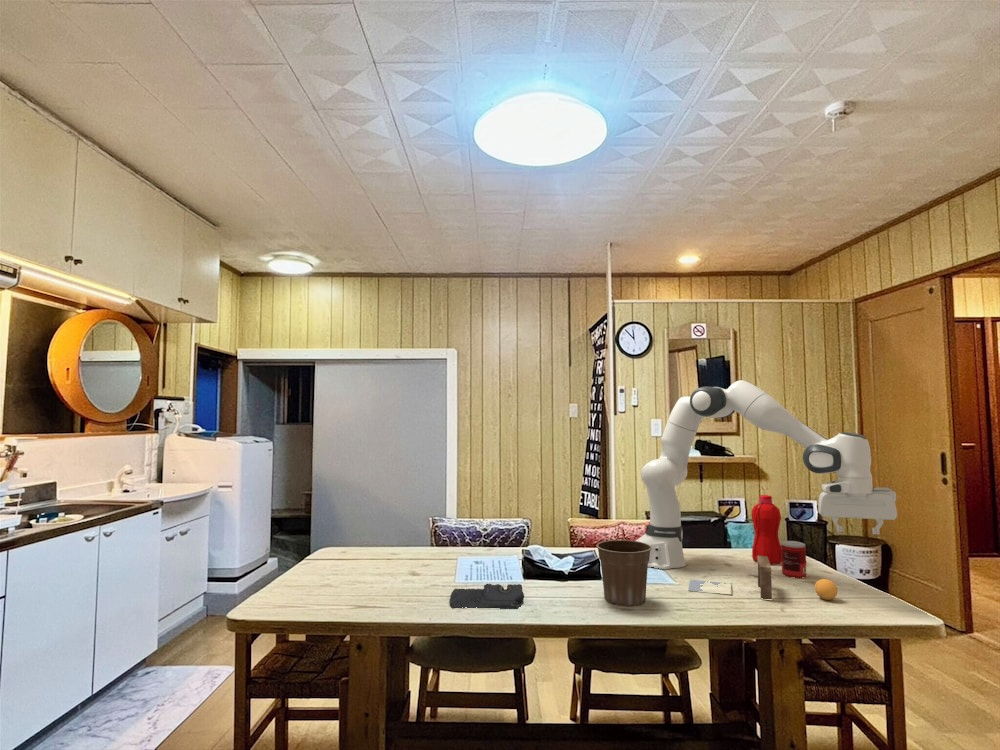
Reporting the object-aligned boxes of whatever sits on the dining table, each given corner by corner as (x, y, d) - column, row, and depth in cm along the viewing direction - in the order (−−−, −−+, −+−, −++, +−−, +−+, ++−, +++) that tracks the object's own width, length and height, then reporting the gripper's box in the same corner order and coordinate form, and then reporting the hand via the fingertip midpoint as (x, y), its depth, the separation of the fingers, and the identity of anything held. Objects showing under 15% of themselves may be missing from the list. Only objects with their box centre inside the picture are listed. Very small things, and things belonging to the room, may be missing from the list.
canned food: (800, 572, 207) (800, 541, 207) (810, 579, 199) (809, 546, 199) (778, 572, 207) (777, 540, 208) (787, 578, 199) (786, 545, 200)
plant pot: (611, 611, 165) (611, 553, 166) (588, 594, 181) (587, 541, 182) (662, 606, 170) (662, 550, 171) (635, 590, 185) (634, 538, 186)
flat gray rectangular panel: (688, 590, 184) (688, 590, 184) (690, 580, 197) (690, 579, 197) (732, 595, 180) (732, 595, 180) (731, 584, 192) (731, 583, 192)
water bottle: (745, 561, 223) (743, 494, 224) (765, 558, 227) (764, 493, 229) (765, 566, 214) (763, 497, 216) (786, 563, 219) (784, 496, 221)
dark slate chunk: (452, 594, 182) (452, 579, 182) (522, 594, 182) (522, 579, 182) (447, 611, 166) (447, 594, 167) (525, 611, 166) (525, 594, 167)
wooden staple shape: (761, 599, 176) (760, 566, 177) (758, 586, 190) (757, 555, 191) (772, 600, 175) (771, 567, 176) (768, 587, 189) (767, 556, 190)
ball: (816, 601, 175) (816, 580, 175) (813, 595, 181) (813, 575, 181) (839, 603, 173) (838, 582, 173) (835, 597, 178) (835, 577, 179)
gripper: (892, 486, 176) (895, 533, 175) (816, 484, 183) (818, 529, 182) (898, 489, 170) (901, 537, 169) (819, 486, 177) (821, 533, 176)
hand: (857, 533), depth 175 cm, fingers open, 8 cm apart
